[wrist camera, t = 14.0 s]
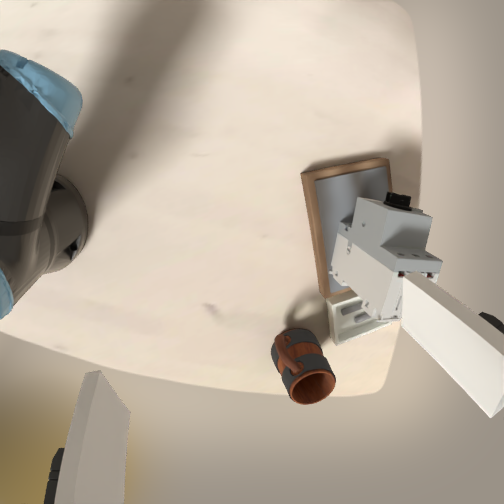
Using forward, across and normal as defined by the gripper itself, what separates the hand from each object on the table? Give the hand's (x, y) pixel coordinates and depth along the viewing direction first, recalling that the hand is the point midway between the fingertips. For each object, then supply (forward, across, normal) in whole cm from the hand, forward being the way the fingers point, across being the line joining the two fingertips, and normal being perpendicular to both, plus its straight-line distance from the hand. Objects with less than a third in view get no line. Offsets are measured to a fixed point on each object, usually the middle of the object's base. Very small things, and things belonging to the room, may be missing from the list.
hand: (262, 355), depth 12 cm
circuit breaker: (+30, +20, -10) cm, 38 cm away
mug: (+33, +6, -28) cm, 44 cm away
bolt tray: (+33, +20, -26) cm, 47 cm away
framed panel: (+33, +20, -10) cm, 40 cm away
